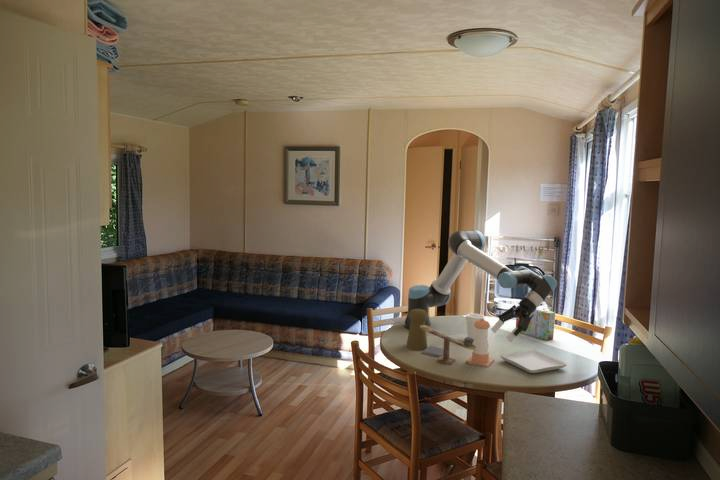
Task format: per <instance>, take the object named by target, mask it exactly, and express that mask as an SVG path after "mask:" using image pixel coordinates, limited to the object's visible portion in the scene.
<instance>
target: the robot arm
mask: <svg viewBox="0 0 720 480" xmlns="http://www.w3.org/2000/svg"><path fill="white" fill-rule="evenodd" d="M447 242H448V243H447V245H448V248H449V250H450V251H451V252H452V253H453V254H452V256H451V257H450V258H449V260H448V262H447V263H446V265H445V266H444V268H443V270H442V271H441V273H440V274H439V276H438V278H437V279H436V280H435V279H434V280H433V281H432V282H431V284H430V285H429V286H428V285H424V284H418V285H413V286H411V287H409V289H408V294H407V297H408V298H407V314H406V317H405V320H404V322H403V324H404V325H403V326H404V328H405V329H407V330H409V328H410V322H411V320H410V319H409V312H410V311H411V310H412V309H423V310H425V311H426V312H427V320H426V321H425V325H426V326H429V327H431V328H432V323H431V319H430V315H429V309H430V308H434V307H435V308H436V307H442V306H445V305H446V304H448V303H449V301H450V300H451V291H452V290H451V287H452V285H453V284H454V283H455V280H456V279H457V278H458V276H459V274H460V273H461V271H462V269H463V268H464V267H465V265H466V264H467V262H468V261H469V262H470V263H471V264H474V265H475V267H478V268H479V269H481V270H483V272H485V273H486V274H488V275H489V276H491V277H493V278H494V279H496V280H497V282H498V284H499V287H501V288H503V289H513V288H518V287H523V286H526V287H527V288H528V289H530V290H529V291H528V292H527V294H525V296H524V297H523V298H522V299H521V300H520V301H519V302H518V303H519V305H516V304H513V305H512V306H511V307H510V308H508V309H507V310H505V311H504V312H502V313H501V314H499V315H498V316H497V317H498V320H497V322H496V323H495V324H494V325H493V326H492V327H491V328H490V330H491V331H492V332H493V334H496V333H497V332H498V331H499V330H500V329H501V328H502V327H503V326H504V324H505V322H508V321H510V320H512V319H516V317H517V318H519V323H518V326H517V327H518V328H517V327H516V326H515V327H514V328H513V330H512V331H511V332H510V333H508V335H507V336H506V339H507V340H508V341H509V342H512V341H514V339H515V338H516V337H517V336H518V335H519V334H521V331H524V332H525V331H526V330H527V328H528V325H529V323H530V321H531V318H532V317H533V316H534V315H533V314H532V313H533V312H534V311H535V310H536V309H537V308H539V307H540V305H542V303H543V302H544V301H545V299H547V298H548V296H549V295H551V294H552V292H554V290H555V289H556V287H558V281H557V280H556V279H555V278H554V277H553V276H552V275H550V274H547V273H546V274H544V275H542V276H541V275H539V274H537V273H536V272H534V271H532V270H531V269H529V268H528V267H525V266H523V265H521V266H518V267H517V268H516V269H515V270H512V269H510V268H508V267H507V265H504V264H503V263H501V262H499V261H497V259H494V257H491V255H488V254H487V253H485V252H484V251H482V250H484V248H485V246H486V240H485V236H484V234H483V233H482V232H481V231H480V230H476V229H475V230H474V229H471V230H470V229H469V230H457V231H454V232H453V233H451V234H450V235H449V238H448V241H447ZM517 306H518V307H517ZM524 327H525V328H524Z"/></svg>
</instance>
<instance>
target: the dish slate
mask: <svg viewBox="0 0 720 480" xmlns="http://www.w3.org/2000/svg"><path fill="white" fill-rule="evenodd" d="M443 350H444V347H437V346H432V345H430V346H427V348H426V349H425V350H422V351H421V354H424V355H428V356H433V357H437V358H439V357H440V356H443Z"/></svg>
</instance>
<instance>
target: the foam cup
mask: <svg viewBox="0 0 720 480" xmlns="http://www.w3.org/2000/svg"><path fill="white" fill-rule="evenodd" d="M481 319H484V320H485V315H483V314H481V313H467V314H465V320H466V331H467V337H469V338H472V339H474V340H475V332H476V327H475V326H474V323H475V321H477V320H481ZM474 340H473V342H474Z"/></svg>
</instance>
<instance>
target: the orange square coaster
mask: <svg viewBox="0 0 720 480" xmlns="http://www.w3.org/2000/svg"><path fill="white" fill-rule="evenodd" d="M494 362H495V359H494V358H491V357H488V362H476V361H474V360H472V355H471V356H470V357H469V358H467V359H466V360H465V363H466V364H470V365H474V366H479V367H484V368H489V367H490V365H491V364H493V363H494Z"/></svg>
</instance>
